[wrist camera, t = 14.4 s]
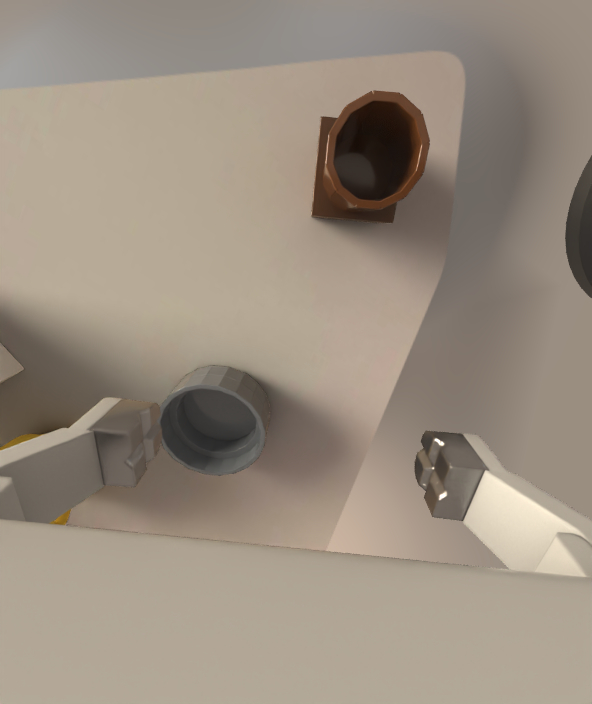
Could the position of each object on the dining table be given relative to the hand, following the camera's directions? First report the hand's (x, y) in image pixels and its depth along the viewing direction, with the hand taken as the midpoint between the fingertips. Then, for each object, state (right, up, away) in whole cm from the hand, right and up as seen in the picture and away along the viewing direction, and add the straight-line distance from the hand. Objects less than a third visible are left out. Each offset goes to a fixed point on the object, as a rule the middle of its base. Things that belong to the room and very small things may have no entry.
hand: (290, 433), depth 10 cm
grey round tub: (-11, -6, +36) cm, 38 cm away
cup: (+6, +18, +17) cm, 25 cm away
